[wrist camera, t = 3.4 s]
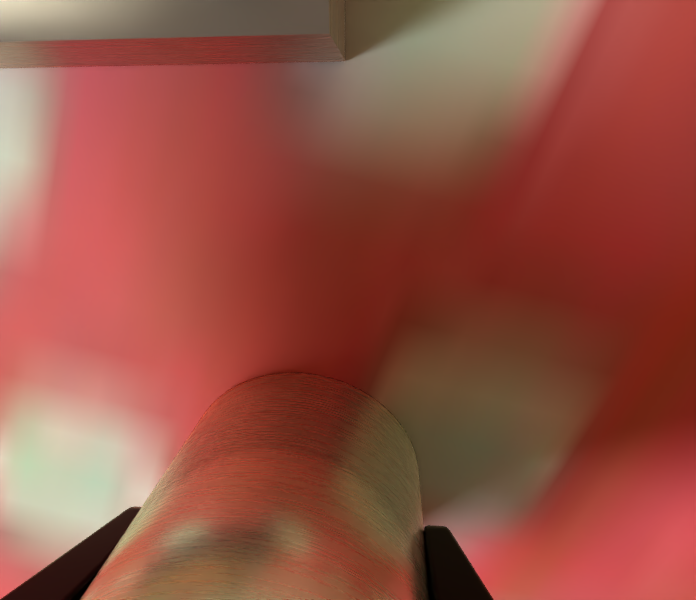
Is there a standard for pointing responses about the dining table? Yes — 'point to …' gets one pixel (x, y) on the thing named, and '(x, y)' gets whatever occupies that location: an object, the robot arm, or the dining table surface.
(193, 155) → the dining table surface
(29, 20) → the open square box
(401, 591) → the spout can
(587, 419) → the dining table surface
